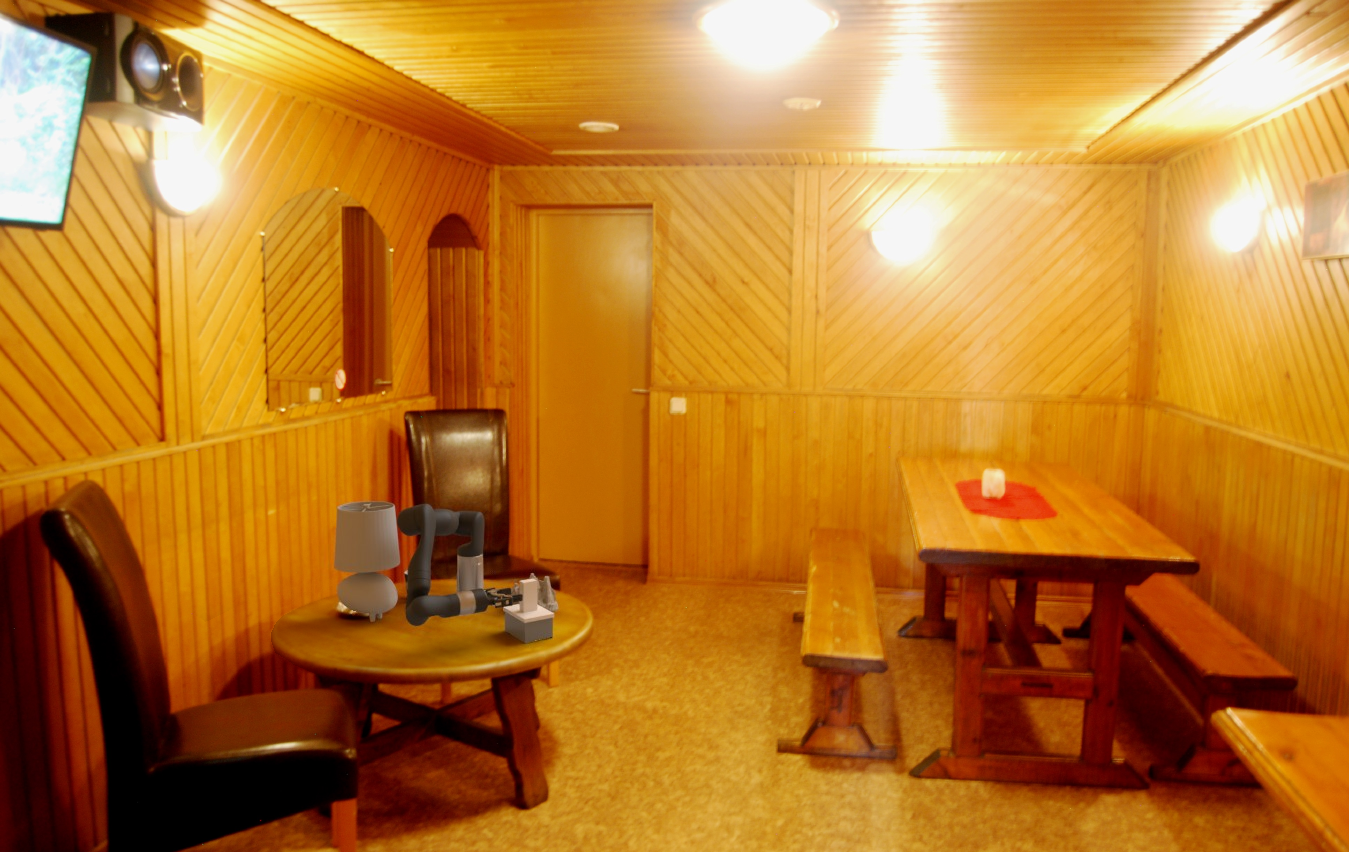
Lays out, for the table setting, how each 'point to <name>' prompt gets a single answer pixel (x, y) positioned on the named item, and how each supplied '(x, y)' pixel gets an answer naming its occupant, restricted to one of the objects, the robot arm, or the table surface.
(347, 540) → the table lamp
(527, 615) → the slab with upright post
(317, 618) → the table surface
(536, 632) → the tub
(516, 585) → the beige rock formation
